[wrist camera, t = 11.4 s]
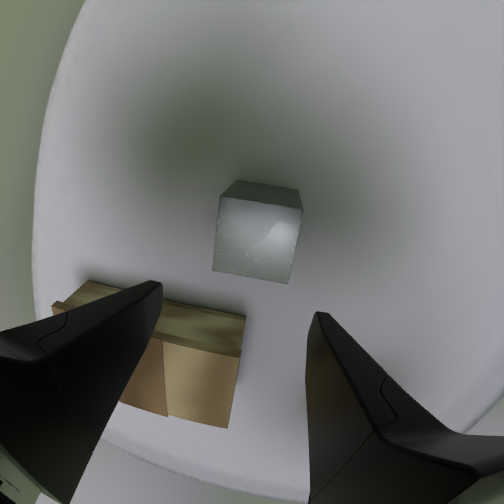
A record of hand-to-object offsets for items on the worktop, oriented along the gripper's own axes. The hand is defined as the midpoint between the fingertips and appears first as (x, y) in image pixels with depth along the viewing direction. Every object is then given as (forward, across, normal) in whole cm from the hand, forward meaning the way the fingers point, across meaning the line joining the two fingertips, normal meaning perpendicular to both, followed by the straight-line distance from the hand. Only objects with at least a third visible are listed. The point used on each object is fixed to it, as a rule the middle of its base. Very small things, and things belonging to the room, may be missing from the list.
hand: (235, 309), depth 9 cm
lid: (+7, +7, +12) cm, 15 cm away
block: (+11, 0, 0) cm, 11 cm away
